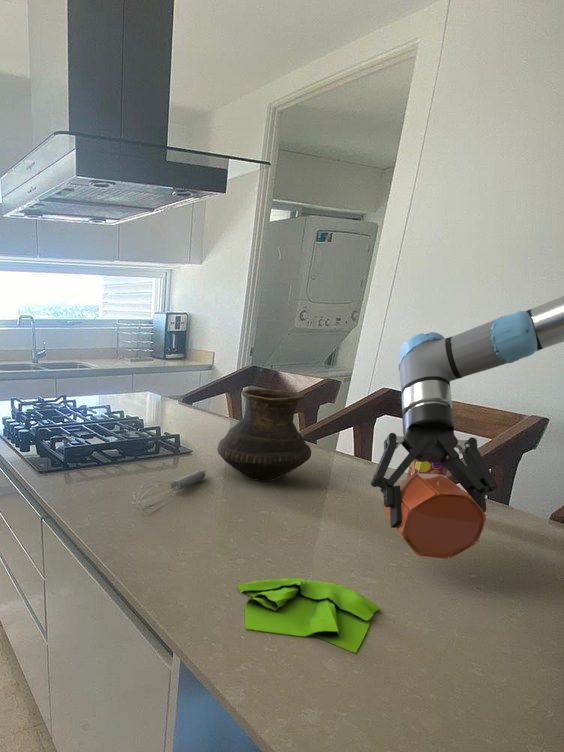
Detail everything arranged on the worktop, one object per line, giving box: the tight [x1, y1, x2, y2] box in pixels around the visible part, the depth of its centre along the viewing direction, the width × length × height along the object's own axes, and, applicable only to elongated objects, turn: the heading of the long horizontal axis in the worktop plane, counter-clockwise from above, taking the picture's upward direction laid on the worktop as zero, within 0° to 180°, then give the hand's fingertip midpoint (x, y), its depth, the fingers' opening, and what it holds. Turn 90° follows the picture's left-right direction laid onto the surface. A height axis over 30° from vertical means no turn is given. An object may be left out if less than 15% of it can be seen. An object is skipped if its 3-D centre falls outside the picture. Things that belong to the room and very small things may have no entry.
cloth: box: [236, 577, 380, 654], centre depth 75 cm, size 20×22×2 cm
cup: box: [384, 473, 487, 560], centre depth 81 cm, size 10×11×11 cm
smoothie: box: [406, 456, 449, 478], centre depth 114 cm, size 8×8×20 cm
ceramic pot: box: [216, 388, 312, 482], centre depth 130 cm, size 24×24×22 cm
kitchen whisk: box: [132, 469, 207, 513], centre depth 119 cm, size 6×34×6 cm, turn 145°
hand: (435, 528), depth 79 cm, fingers closed on cup, 11 cm apart
